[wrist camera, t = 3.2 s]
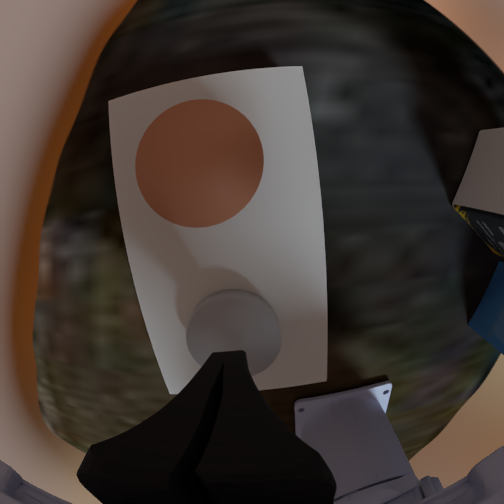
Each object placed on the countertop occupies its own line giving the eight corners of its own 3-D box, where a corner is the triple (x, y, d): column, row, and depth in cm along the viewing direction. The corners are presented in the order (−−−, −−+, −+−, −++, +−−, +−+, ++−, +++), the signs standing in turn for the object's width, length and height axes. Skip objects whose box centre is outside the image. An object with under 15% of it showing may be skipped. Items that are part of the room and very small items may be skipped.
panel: (317, 353, 18) (326, 380, 15) (179, 366, 18) (169, 393, 15) (293, 85, 14) (302, 66, 11) (131, 112, 14) (108, 101, 11)
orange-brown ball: (265, 208, 13) (271, 218, 9) (173, 220, 13) (145, 235, 10) (253, 115, 12) (254, 90, 8) (161, 131, 12) (130, 115, 8)
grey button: (278, 336, 17) (284, 373, 13) (206, 342, 17) (197, 380, 13) (271, 267, 16) (277, 293, 12) (192, 276, 16) (176, 304, 12)
